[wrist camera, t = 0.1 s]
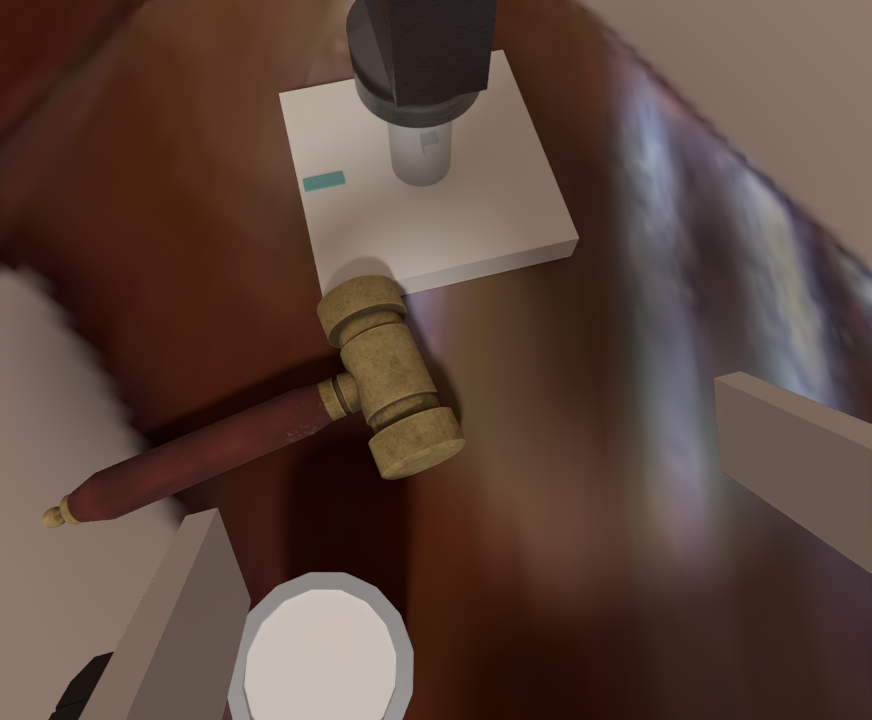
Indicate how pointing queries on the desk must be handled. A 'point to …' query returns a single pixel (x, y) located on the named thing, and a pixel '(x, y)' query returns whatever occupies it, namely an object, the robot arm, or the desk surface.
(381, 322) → the gavel
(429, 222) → the base
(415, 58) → the grey block orange cap
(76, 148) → the desk surface
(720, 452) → the robot arm
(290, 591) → the shot glass
